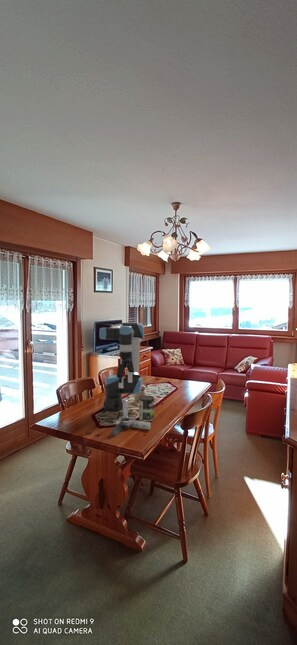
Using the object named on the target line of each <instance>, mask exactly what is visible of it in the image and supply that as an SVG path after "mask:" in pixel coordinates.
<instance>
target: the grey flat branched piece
mask: <svg viewBox="0 0 297 645" xmlns="http://www.w3.org/2000/svg"><path fill="white" fill-rule="evenodd" d="M151 422H152V421H142V420H137V419H135V417H132V416H128V421H123V415H122V416H120V417H119V418H118V419H116V420H115V424H116V425H115V426H114V427H113V428H112V430H111V432H112V436H113V437H116V436H117V435H118V434H119V433H120V432H122V431H123V430H124V429H127V430H130V429H131V428H137V429H141V430H142V429H143V430H151V424H152V423H151Z"/></svg>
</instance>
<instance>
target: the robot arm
mask: <svg viewBox="0 0 297 645" xmlns="http://www.w3.org/2000/svg"><path fill="white" fill-rule="evenodd" d="M98 334H99V335H98V337H99V339H100V340H119V358H120V359H121V360H119V361H118V369H117V373H116V374H113V375H110V376H107V377H106V378H105V384H104V385H105V389H104V390H105V391H104V392H105V393H104V394H105V396H104V401H103V405H102V409H103V410H105V411H109V412H110V411H111V412H114V411H115V412H116V411H120V410H123V400H124V399H123V397H122V395H139V394H140V393H141V392H142V387H143V377H141V374H140V352H141V342H143V339H145V329H144V325H143V323H141V322H119V323H115V324H113V325H112V326H110V327H100V328H99V333H98ZM126 368H127V371H126V373H125V370H126ZM124 373H125V374H124Z"/></svg>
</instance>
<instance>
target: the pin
mask: <svg viewBox="0 0 297 645" xmlns="http://www.w3.org/2000/svg"><path fill="white" fill-rule="evenodd" d="M122 400H123V409H122V416H123V421H128V417H129V400H128V399H122Z"/></svg>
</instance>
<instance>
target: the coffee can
mask: <svg viewBox="0 0 297 645" xmlns="http://www.w3.org/2000/svg"><path fill="white" fill-rule="evenodd" d="M138 420H139V421H144V422H153V420H155V396H153V395H147V394H145V395H141V396H139V397H138Z"/></svg>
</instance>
